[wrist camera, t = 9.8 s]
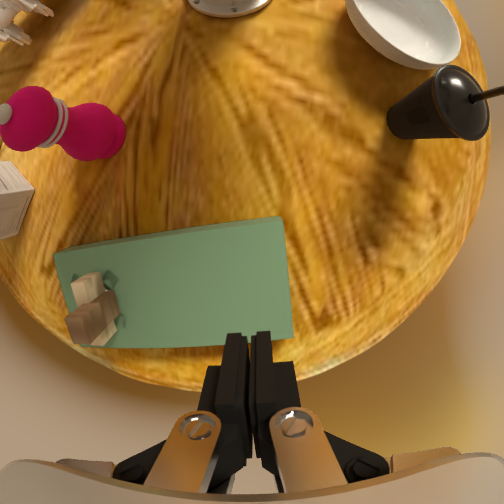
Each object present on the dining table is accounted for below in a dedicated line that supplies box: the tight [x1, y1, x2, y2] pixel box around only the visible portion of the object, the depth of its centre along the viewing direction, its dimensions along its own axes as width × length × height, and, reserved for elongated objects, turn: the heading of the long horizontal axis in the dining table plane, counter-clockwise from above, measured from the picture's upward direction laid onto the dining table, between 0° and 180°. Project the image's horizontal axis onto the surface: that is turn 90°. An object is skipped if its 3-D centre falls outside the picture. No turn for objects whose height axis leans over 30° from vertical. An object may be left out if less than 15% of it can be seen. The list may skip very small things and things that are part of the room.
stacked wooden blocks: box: [64, 272, 120, 346], centre depth 28 cm, size 8×3×8 cm, turn 7°
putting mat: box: [53, 216, 294, 348], centre depth 34 cm, size 14×30×4 cm, turn 97°
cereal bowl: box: [345, 0, 461, 70], centre depth 24 cm, size 17×17×7 cm
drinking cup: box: [387, 65, 504, 141], centre depth 21 cm, size 8×8×20 cm
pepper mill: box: [0, 86, 126, 161], centre depth 22 cm, size 7×7×20 cm
